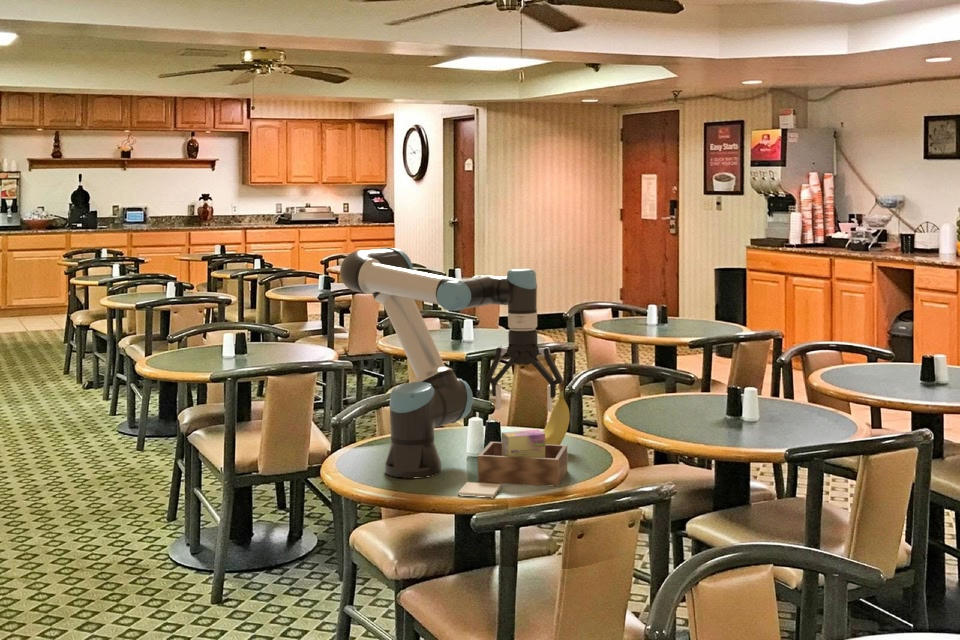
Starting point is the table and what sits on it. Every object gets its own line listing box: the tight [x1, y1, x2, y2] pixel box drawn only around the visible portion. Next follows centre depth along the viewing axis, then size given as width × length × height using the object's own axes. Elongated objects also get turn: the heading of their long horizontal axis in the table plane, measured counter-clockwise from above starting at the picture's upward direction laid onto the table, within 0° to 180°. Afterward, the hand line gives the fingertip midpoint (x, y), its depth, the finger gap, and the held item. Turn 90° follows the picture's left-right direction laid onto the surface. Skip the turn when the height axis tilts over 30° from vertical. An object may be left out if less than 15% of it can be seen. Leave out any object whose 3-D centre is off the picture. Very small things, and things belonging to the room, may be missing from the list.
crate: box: [477, 441, 568, 487], centre depth 283 cm, size 21×15×7 cm
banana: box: [542, 379, 571, 445], centre depth 303 cm, size 23×6×20 cm, turn 146°
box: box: [501, 429, 545, 458], centre depth 282 cm, size 10×6×12 cm, turn 108°
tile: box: [457, 481, 502, 498], centre depth 269 cm, size 9×9×1 cm
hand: (524, 409), depth 280 cm, fingers open, 13 cm apart
